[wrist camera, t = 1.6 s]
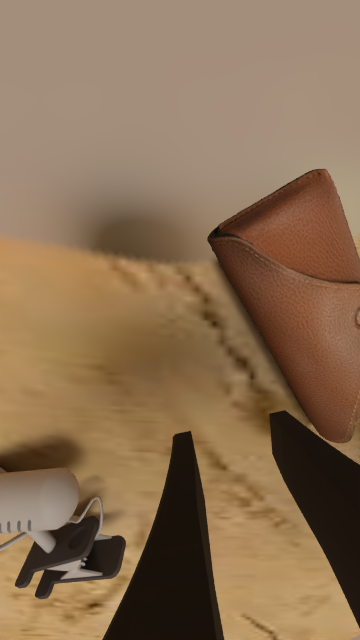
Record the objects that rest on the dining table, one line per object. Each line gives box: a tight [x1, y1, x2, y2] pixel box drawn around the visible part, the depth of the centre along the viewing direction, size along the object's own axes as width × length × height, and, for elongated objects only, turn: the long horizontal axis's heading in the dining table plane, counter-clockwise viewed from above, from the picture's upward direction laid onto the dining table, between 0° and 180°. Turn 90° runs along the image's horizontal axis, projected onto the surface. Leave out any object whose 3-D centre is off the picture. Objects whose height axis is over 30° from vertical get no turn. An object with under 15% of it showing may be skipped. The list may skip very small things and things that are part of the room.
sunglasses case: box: [208, 169, 360, 443], centre depth 19 cm, size 18×7×7 cm
